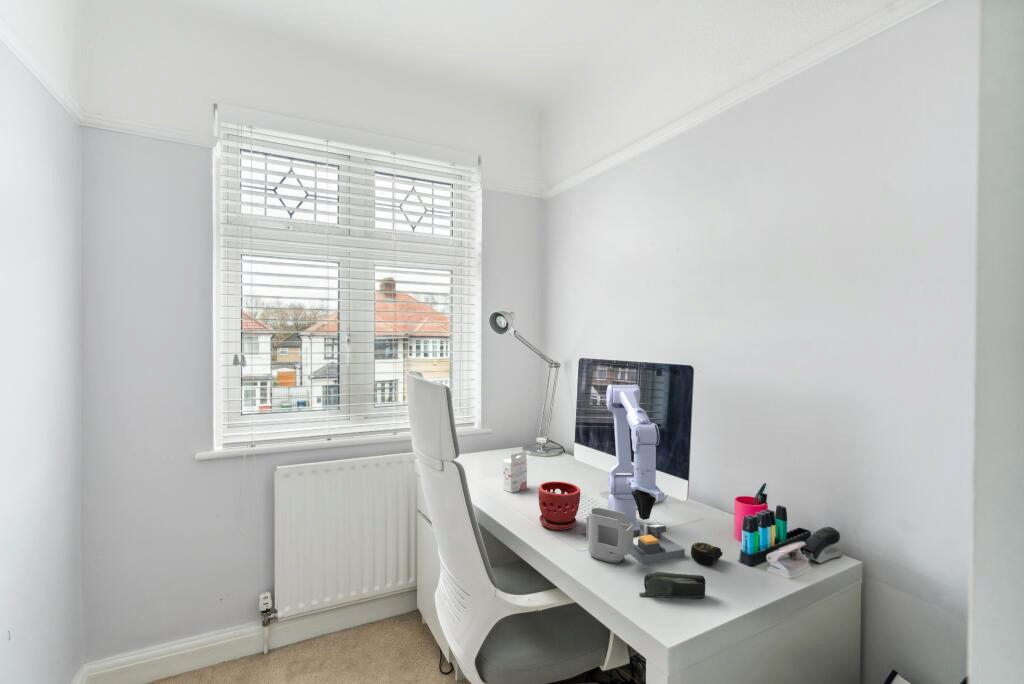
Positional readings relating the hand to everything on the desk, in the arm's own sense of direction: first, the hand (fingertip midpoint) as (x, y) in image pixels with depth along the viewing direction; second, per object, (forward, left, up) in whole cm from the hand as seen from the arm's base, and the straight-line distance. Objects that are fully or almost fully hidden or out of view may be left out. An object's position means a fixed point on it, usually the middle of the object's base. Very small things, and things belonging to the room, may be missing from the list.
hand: (644, 518), depth 127 cm
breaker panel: (-4, +3, -10) cm, 11 cm away
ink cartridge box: (-63, -16, -10) cm, 66 cm away
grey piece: (-1, -10, -10) cm, 14 cm away
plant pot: (-26, -14, -10) cm, 31 cm away
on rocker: (-6, +7, -6) cm, 11 cm away
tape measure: (+8, +14, -10) cm, 19 cm away
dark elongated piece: (+19, -6, -10) cm, 23 cm away
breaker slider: (+2, 0, -8) cm, 8 cm away
